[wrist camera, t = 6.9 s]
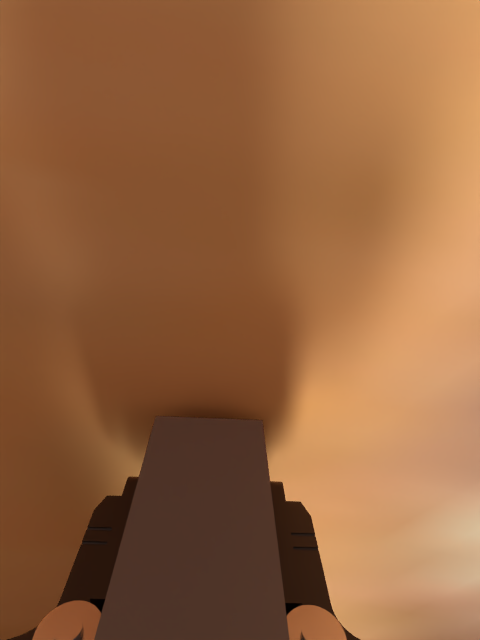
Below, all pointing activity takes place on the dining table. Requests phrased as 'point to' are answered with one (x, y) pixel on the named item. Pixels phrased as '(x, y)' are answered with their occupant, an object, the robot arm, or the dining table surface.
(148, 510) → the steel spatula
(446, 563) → the dining table surface
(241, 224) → the dining table surface
